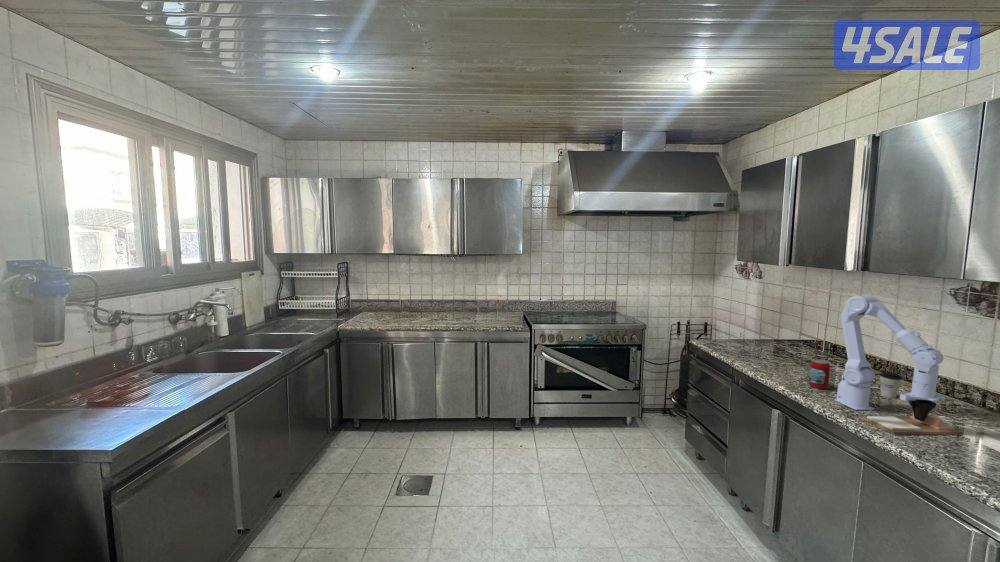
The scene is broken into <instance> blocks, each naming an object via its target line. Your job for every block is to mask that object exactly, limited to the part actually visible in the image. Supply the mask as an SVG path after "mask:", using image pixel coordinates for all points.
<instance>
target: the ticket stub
mask: <svg viewBox="0 0 1000 562" xmlns="http://www.w3.org/2000/svg"><path fill="white" fill-rule="evenodd" d="M909 416H910V418H912V419H914V420H916V419H915V418H914V413H913V412H912V415H909ZM917 421H919V420H917ZM919 422H921V423H924V424H926V425H928V426H931V427H933V428H936V429H938V430H955V429H956V427H954V426H952V425H949V424H947V423H944V420H942V419H940V418H939V417H938V418H937V417H936V416H933V415H931V414H928V415H927V417H926V419H925V421H919Z"/></svg>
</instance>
